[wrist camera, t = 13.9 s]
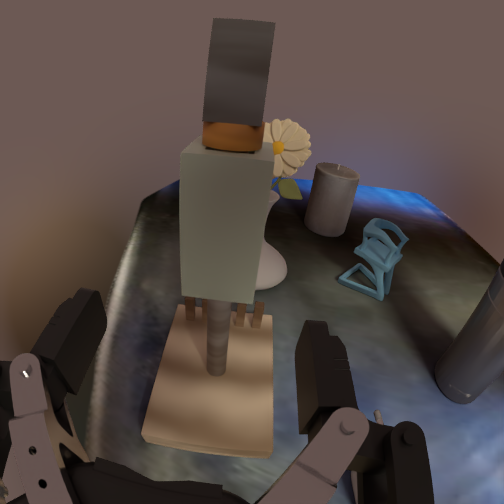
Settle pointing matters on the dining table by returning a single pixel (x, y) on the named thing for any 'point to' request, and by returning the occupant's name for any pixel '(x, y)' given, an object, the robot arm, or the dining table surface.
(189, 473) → the dining table surface
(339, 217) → the pillar candle
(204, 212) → the square hollow tube
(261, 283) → the flower in vase
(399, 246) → the chair
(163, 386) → the post
